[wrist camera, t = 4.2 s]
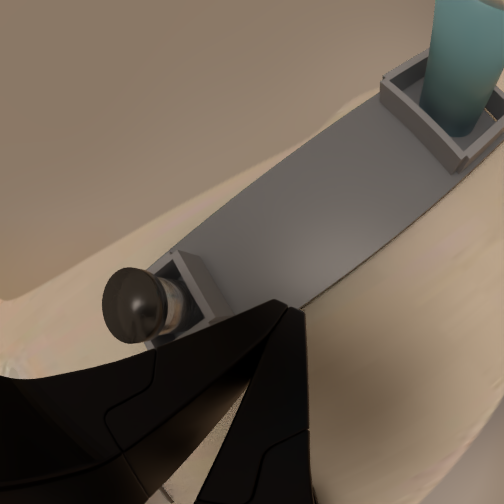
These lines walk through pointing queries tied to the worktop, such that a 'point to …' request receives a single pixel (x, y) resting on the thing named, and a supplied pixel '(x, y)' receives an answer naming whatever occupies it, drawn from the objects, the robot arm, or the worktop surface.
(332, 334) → the worktop surface
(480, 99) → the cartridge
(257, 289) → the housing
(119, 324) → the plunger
